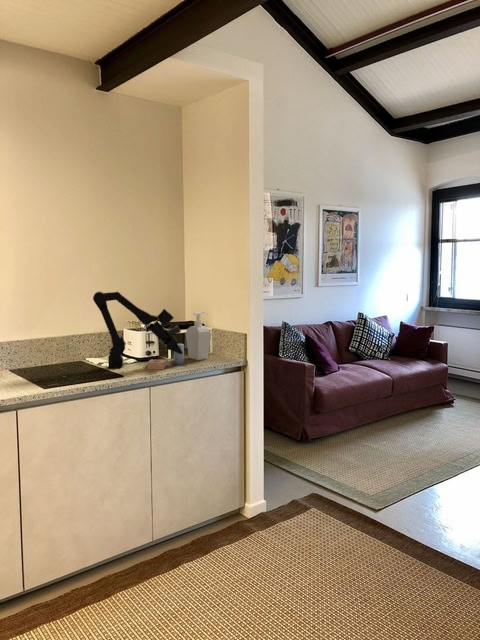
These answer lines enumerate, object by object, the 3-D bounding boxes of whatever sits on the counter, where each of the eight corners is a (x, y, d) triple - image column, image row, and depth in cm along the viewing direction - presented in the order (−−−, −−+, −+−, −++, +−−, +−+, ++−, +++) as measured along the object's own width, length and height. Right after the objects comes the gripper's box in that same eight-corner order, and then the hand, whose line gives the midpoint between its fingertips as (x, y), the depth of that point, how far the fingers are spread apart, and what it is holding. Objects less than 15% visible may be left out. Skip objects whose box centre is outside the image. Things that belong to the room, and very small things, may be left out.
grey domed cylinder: (173, 365, 269) (173, 345, 268) (174, 363, 274) (174, 343, 273) (183, 365, 269) (183, 345, 268) (184, 363, 274) (184, 343, 273)
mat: (168, 366, 267) (168, 366, 267) (171, 363, 276) (171, 362, 276) (186, 367, 267) (186, 366, 267) (188, 363, 276) (188, 362, 276)
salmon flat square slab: (147, 369, 260) (147, 362, 260) (150, 366, 268) (150, 359, 268) (163, 369, 260) (163, 362, 260) (166, 366, 268) (166, 359, 268)
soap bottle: (213, 359, 288) (213, 312, 285) (198, 361, 282) (198, 313, 279) (200, 356, 297) (200, 310, 294) (185, 358, 291) (185, 311, 288)
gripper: (173, 322, 259) (195, 344, 263) (169, 318, 277) (190, 338, 281) (157, 339, 258) (179, 360, 262) (154, 333, 276) (175, 353, 280)
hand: (181, 352), depth 271 cm, fingers closed on grey domed cylinder, 5 cm apart
